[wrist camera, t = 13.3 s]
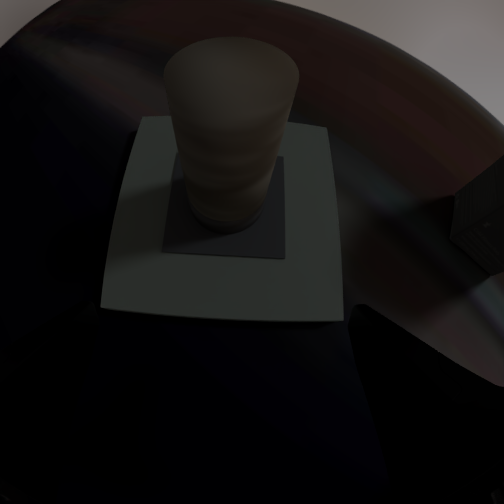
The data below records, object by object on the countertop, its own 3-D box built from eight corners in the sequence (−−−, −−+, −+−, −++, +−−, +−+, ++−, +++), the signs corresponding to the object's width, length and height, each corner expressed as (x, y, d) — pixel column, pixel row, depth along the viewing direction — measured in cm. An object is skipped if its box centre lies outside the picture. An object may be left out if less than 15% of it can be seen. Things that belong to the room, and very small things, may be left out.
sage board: (335, 321, 19) (344, 320, 17) (108, 309, 18) (99, 306, 16) (321, 138, 24) (327, 126, 22) (145, 127, 23) (142, 115, 21)
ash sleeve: (204, 245, 18) (181, 128, 8) (180, 181, 19) (151, 52, 9) (275, 218, 19) (326, 97, 9) (246, 160, 20) (265, 31, 10)
